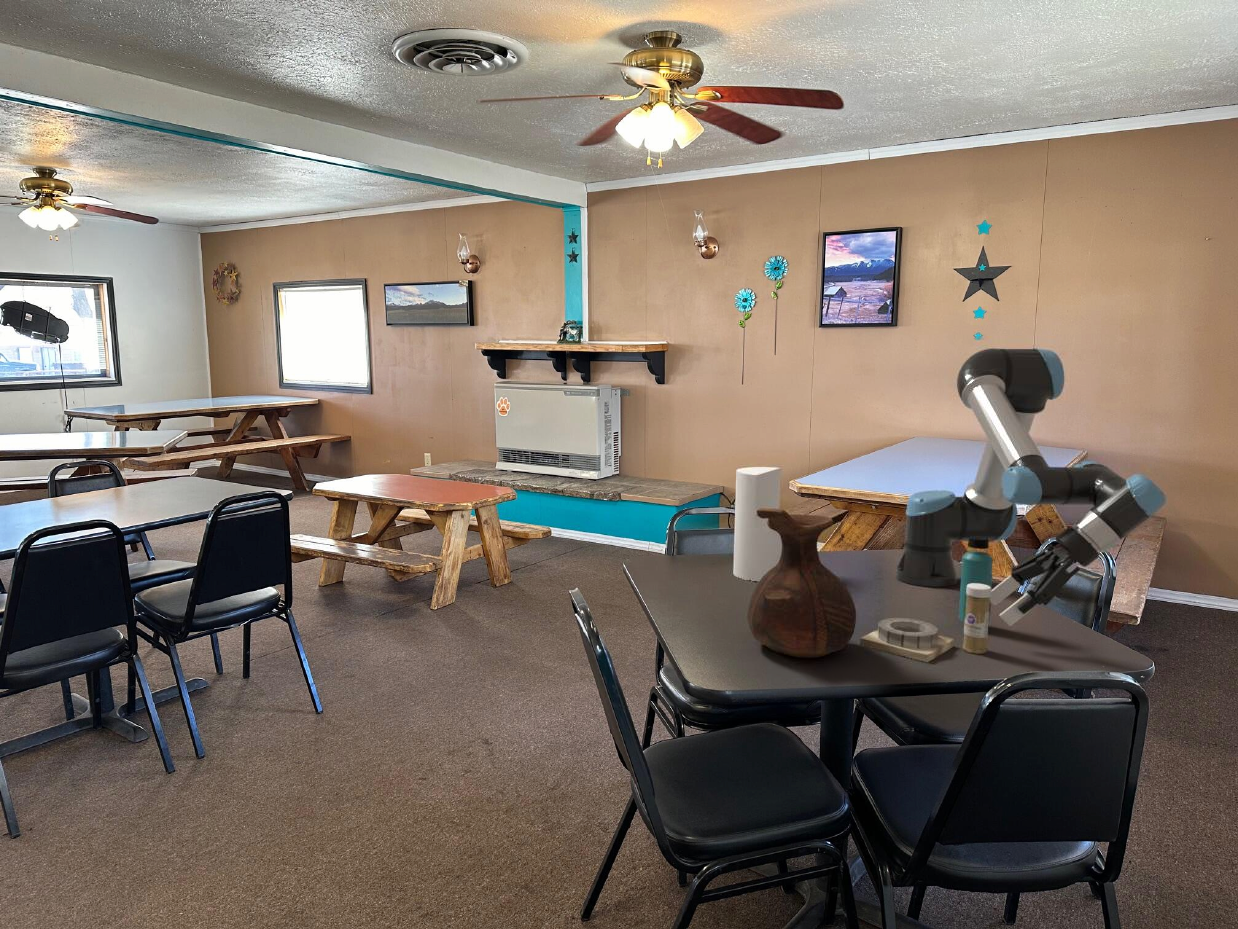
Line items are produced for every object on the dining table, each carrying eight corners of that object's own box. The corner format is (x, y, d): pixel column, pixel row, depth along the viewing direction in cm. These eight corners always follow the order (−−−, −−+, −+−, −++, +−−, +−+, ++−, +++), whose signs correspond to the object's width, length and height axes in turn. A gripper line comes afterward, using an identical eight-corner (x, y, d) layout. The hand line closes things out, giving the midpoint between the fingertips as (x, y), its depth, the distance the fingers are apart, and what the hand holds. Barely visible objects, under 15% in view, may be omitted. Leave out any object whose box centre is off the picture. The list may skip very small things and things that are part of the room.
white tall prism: (722, 576, 224) (725, 472, 220) (748, 563, 239) (751, 465, 235) (784, 586, 215) (788, 478, 211) (807, 572, 230) (811, 470, 226)
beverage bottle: (975, 633, 180) (981, 541, 177) (950, 624, 186) (955, 535, 183) (996, 629, 183) (1002, 539, 180) (970, 620, 189) (976, 533, 186)
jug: (734, 631, 180) (738, 492, 176) (833, 630, 181) (839, 492, 177) (758, 669, 158) (763, 512, 154) (870, 667, 160) (878, 511, 156)
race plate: (888, 630, 181) (889, 612, 181) (953, 646, 172) (955, 627, 171) (859, 645, 172) (860, 626, 171) (926, 662, 162) (928, 642, 162)
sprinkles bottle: (959, 651, 169) (963, 585, 167) (966, 645, 173) (971, 581, 171) (982, 656, 166) (987, 590, 165) (990, 650, 170) (994, 585, 168)
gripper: (1123, 569, 149) (1026, 645, 154) (1080, 540, 173) (997, 606, 178) (1092, 538, 150) (996, 614, 155) (1053, 513, 174) (971, 580, 179)
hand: (996, 610), depth 167 cm, fingers open, 13 cm apart
